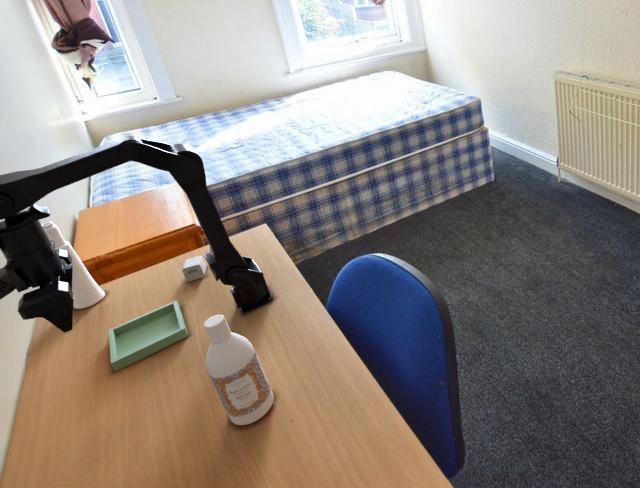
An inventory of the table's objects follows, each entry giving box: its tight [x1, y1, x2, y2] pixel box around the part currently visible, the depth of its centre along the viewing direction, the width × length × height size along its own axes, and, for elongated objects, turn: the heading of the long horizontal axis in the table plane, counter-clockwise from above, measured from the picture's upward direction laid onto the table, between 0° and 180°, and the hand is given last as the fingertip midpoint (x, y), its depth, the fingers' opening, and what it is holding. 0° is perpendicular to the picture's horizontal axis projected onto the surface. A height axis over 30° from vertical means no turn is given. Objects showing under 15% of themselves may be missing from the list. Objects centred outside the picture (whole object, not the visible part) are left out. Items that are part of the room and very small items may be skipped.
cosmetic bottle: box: [41, 221, 106, 310], centre depth 110 cm, size 6×6×22 cm
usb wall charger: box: [181, 255, 207, 282], centre depth 120 cm, size 4×7×4 cm, turn 25°
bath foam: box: [203, 314, 274, 426], centre depth 78 cm, size 7×7×20 cm
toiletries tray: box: [108, 300, 189, 372], centre depth 100 cm, size 13×13×2 cm
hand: (68, 318), depth 86 cm, fingers open, 9 cm apart
